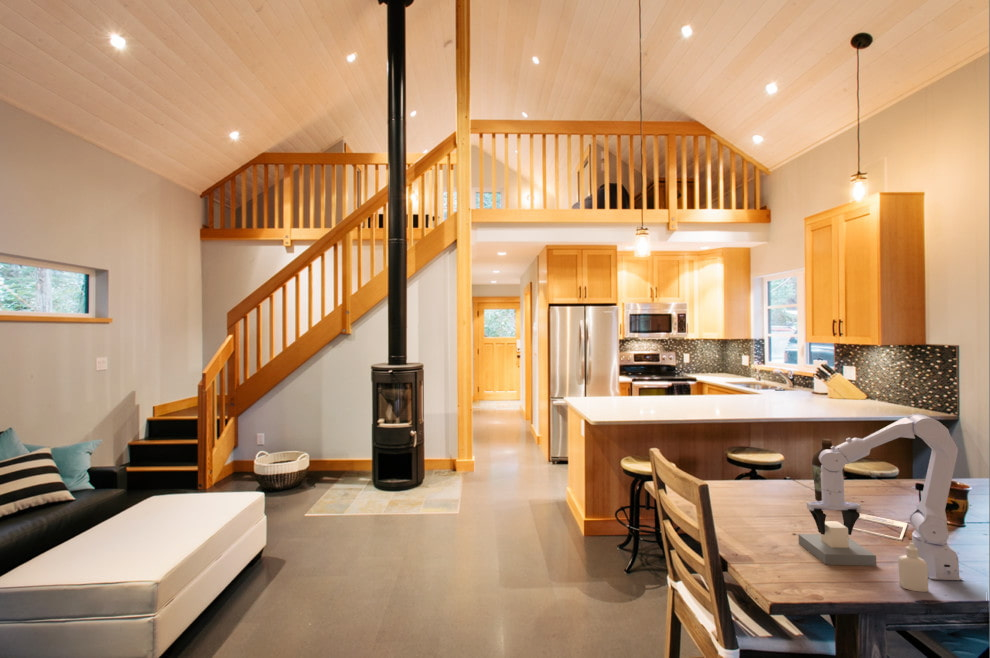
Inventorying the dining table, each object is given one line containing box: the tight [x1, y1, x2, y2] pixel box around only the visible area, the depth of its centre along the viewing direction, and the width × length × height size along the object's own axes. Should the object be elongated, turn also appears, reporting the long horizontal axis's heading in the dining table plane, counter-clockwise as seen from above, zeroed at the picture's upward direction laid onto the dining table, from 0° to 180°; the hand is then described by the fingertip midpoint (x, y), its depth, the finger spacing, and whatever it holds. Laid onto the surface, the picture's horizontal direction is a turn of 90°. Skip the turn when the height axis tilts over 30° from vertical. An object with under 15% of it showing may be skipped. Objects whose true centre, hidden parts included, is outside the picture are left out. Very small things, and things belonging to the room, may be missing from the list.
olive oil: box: [811, 438, 845, 501], centre depth 184 cm, size 11×11×25 cm
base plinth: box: [798, 533, 877, 567], centre depth 140 cm, size 14×14×3 cm
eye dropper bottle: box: [897, 542, 929, 593], centre depth 120 cm, size 4×6×12 cm
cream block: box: [820, 520, 849, 548], centre depth 140 cm, size 5×5×6 cm
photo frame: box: [852, 512, 909, 542], centre depth 159 cm, size 15×1×18 cm
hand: (834, 533), depth 140 cm, fingers open, 7 cm apart
